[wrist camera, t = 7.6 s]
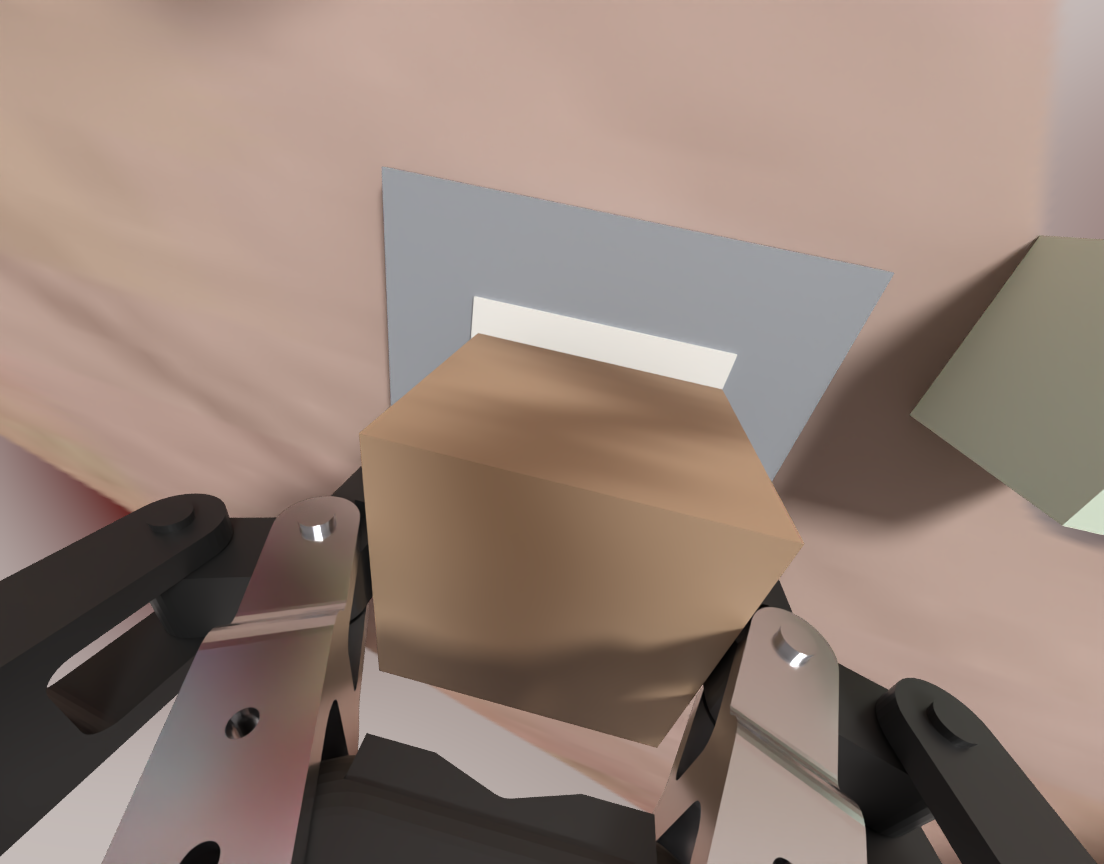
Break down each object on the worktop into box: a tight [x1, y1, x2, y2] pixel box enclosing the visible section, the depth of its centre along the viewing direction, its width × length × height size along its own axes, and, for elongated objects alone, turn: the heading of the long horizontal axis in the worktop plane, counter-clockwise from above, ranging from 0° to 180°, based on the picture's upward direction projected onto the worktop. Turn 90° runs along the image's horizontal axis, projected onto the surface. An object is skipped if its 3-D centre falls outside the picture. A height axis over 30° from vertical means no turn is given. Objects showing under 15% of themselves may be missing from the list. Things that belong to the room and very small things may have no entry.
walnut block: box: [359, 333, 804, 748], centre depth 9 cm, size 6×6×5 cm
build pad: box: [382, 167, 894, 482], centre depth 12 cm, size 12×12×1 cm
